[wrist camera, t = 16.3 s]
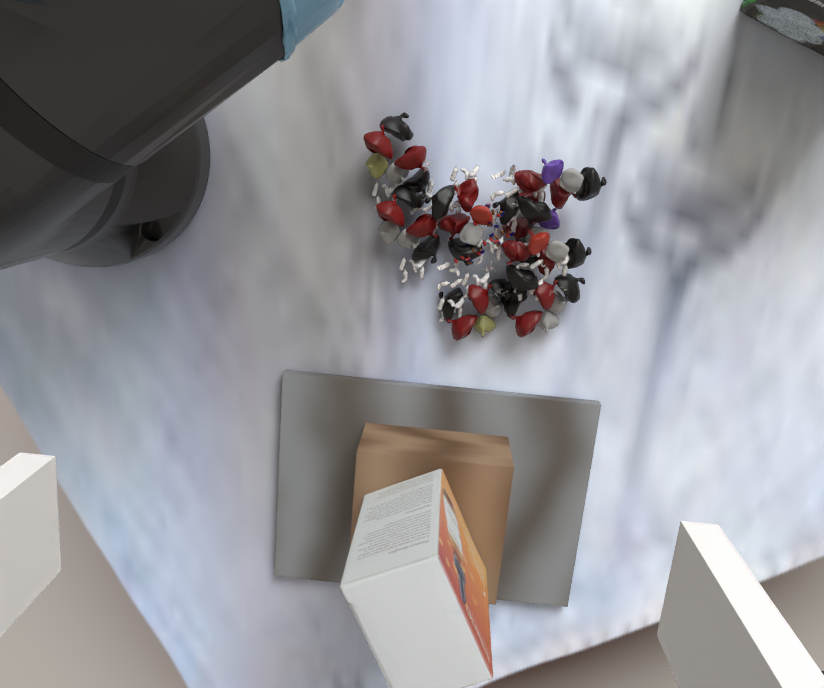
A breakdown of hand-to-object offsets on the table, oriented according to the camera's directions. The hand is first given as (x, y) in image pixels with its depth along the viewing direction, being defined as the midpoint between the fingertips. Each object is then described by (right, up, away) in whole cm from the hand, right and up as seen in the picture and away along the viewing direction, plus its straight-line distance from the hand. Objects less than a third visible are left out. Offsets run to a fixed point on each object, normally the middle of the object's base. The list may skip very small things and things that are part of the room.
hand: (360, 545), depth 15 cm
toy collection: (+6, +12, +33) cm, 35 cm away
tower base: (+2, -6, +38) cm, 38 cm away
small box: (+2, -8, +32) cm, 33 cm away
